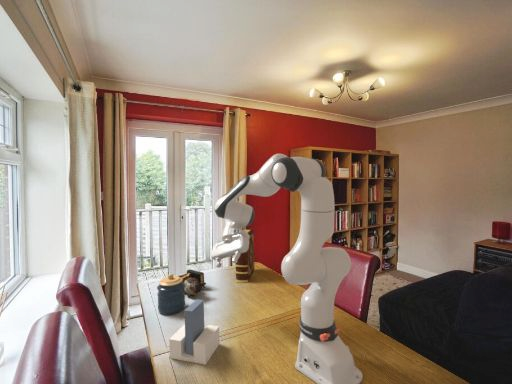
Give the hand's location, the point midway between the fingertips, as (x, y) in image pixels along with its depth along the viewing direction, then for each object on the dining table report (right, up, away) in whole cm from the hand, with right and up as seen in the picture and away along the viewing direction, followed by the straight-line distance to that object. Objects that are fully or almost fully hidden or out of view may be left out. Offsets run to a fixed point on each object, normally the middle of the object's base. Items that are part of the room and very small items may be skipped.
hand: (226, 264), depth 116 cm
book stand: (-10, -28, -15) cm, 33 cm away
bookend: (-23, -26, +36) cm, 50 cm away
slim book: (-10, -27, -15) cm, 32 cm away
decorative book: (+6, -24, +60) cm, 65 cm away
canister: (-29, -27, +18) cm, 43 cm away
